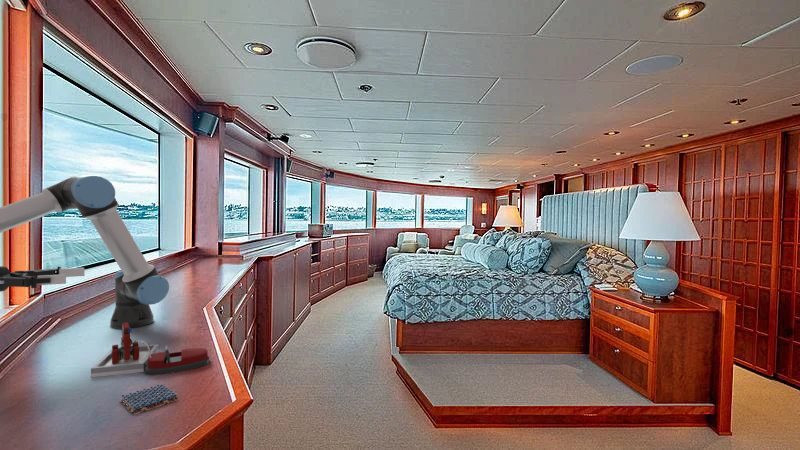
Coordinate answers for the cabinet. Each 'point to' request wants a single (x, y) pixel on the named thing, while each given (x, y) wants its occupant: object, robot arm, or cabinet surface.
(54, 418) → the cabinet surface
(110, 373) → the tray
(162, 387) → the woven mat
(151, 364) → the bumper car
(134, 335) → the cabinet surface
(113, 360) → the toy fire truck
